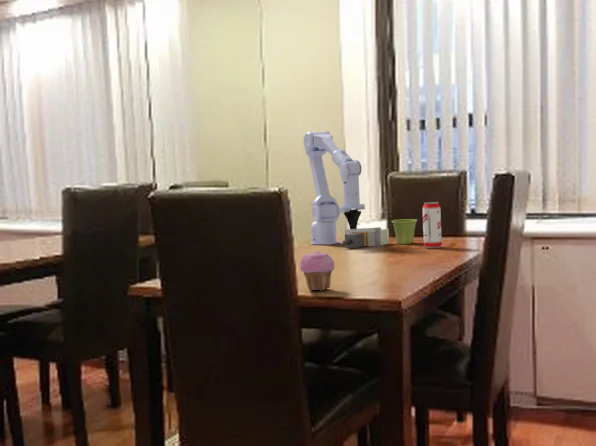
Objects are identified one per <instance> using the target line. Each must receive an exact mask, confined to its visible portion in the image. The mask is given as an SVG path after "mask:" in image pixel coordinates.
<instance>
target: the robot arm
mask: <svg viewBox="0 0 596 446" xmlns="http://www.w3.org/2000/svg"><path fill="white" fill-rule="evenodd" d="M333 140H334V139H333V135H332V134H331V132H330V131H328V130H325V131H306V133H305V134H304V135H303V146H304V150H305V154H306V156H307V158H308V163H309V166H310V172H311V177H312V181H313V185H314V186H313V187H314V191H315V195H316V198H315V199H314V200H313V201H312V203H311V208H312V209H311V215H312V218H313V219H314V221H313V222H312V223H311V225H310V234H311V237H310V238H311V242H310V244H311V245H326V246H327V245H328V246H330V245H335V244H339V243H342V241H341V240H337V224H336V223H337V222H336V221H338V219H339V217H340V215H341V214H342V213H343V215H344V217H345V218H346V221H347V223H348V227H349V229H357V228H358V222H359V219H360V216H361V214H362V210H366V204H365V203H360V202H361V201H360V175H361V174H362V164H361V163H360V161H359V160H355V159H352V157H350V155H349V154H348V153H347V152H346V150H345V149H341V148H339V147H338V146H337V145H336V143H335V142H334V141H333ZM327 153H328V154H330V155H331V160H332V162H333V163H334V164H335V166H337V167H338V168H339V169H338V171H339V175H340V177H341V181H342V185H343V187H342V188H343V202H344V203H343V206H339V205H338V202H337V199H336V198H335V197H333V196H331V194H330V189H329V185H328V182H327V181H328V180H327V176H326V172H325V171H326V170H325V165H324V162H323V156H324V155H325V154H327Z"/></svg>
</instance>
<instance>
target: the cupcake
mask: <svg viewBox="0 0 596 446" xmlns="http://www.w3.org/2000/svg"><path fill="white" fill-rule="evenodd" d="M299 269H300V271H301V272H303V275H304V277H305V281H306V285H307V288H308V291H310V290H320V291H319V292H323V291H322V290H325V289H326V290H328V289H327V288H331V277H332V272H333V271H334V270H335V262H334V259H333V258H332V257H331V256H330V255H329V254H328V253H325V252H322V251H321V252H320V251H315V252H311V253H306V254H305V255H303V256H301V259H300V263H299ZM326 290H325V291H326Z"/></svg>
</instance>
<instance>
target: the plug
mask: <svg viewBox="0 0 596 446" xmlns="http://www.w3.org/2000/svg"><path fill="white" fill-rule="evenodd" d="M342 245H343V246H344V248H346V249H347V248H350V249H357V248H361V247H367V246H368V240H367V231H365V232H352V233H350V234H345V233H344V240H342Z"/></svg>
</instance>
